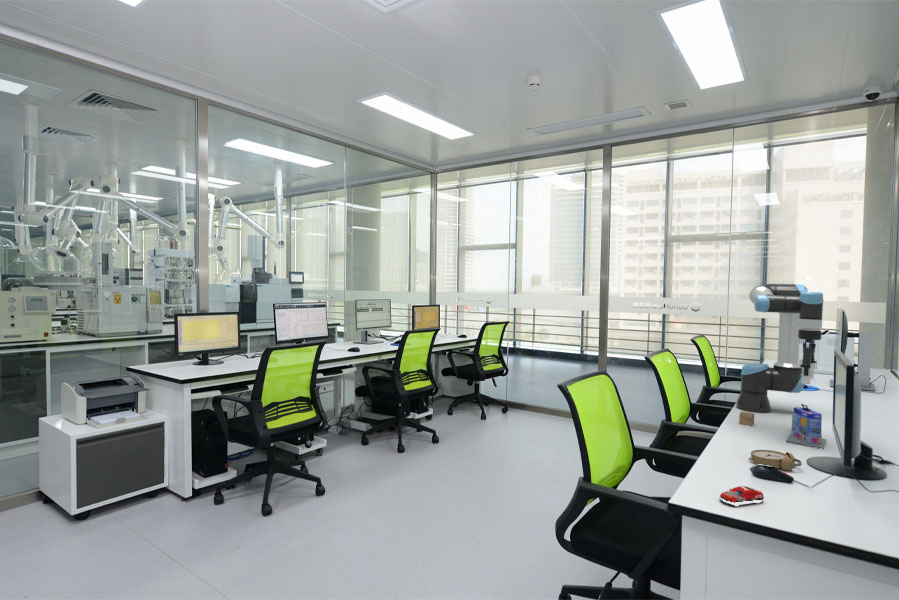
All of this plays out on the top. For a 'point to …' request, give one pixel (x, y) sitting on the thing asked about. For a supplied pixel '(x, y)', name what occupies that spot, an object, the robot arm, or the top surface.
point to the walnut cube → (746, 418)
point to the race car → (742, 494)
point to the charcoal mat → (798, 441)
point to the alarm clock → (774, 459)
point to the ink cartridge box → (807, 425)
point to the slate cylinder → (792, 421)
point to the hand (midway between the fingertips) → (807, 381)
